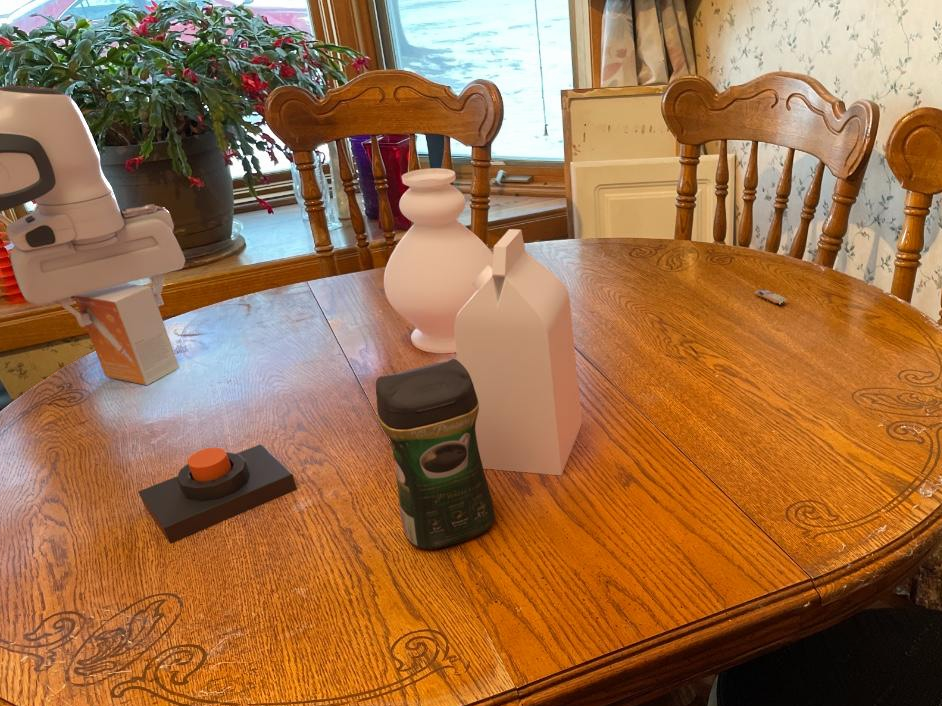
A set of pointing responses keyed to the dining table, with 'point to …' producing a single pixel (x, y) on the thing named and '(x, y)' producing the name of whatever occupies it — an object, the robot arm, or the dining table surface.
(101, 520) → the dining table surface
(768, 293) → the granola bar
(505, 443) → the milk
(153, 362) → the small box
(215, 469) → the button
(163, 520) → the black base plate
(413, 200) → the decorative vase
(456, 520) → the coffee jar
